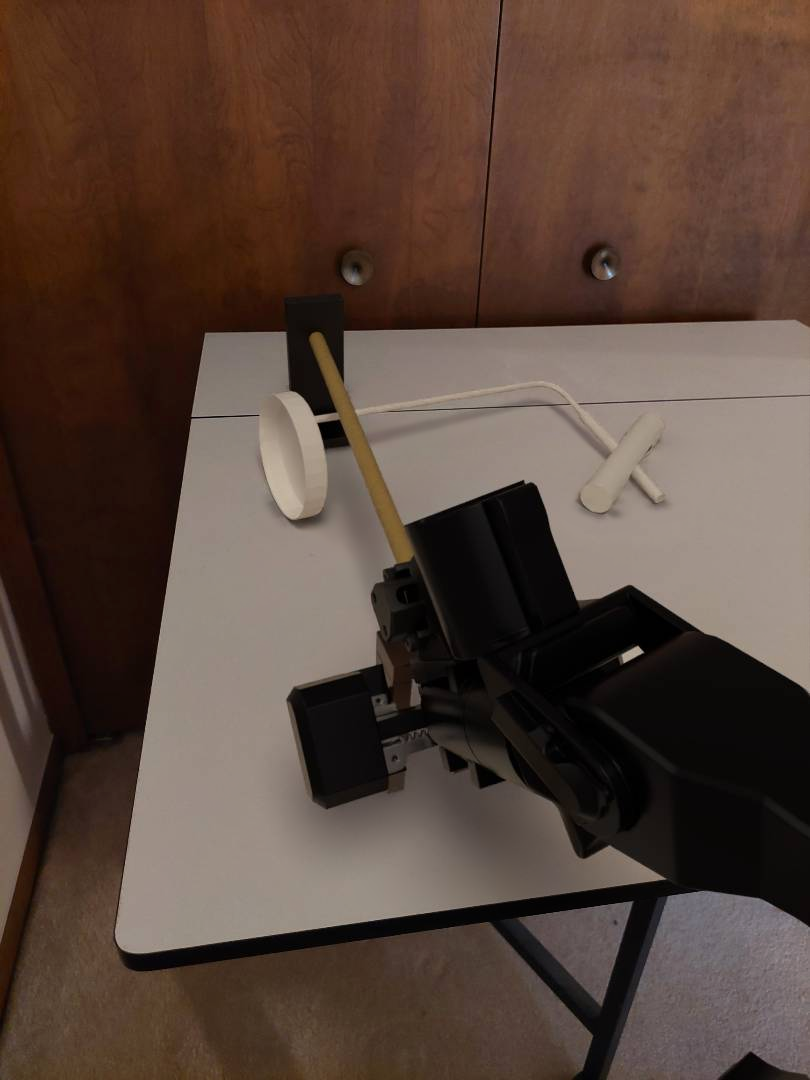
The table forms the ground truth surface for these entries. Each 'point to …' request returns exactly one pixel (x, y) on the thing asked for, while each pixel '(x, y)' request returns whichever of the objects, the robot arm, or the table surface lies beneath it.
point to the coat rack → (336, 397)
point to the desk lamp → (298, 442)
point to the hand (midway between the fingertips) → (419, 688)
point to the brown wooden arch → (397, 687)
